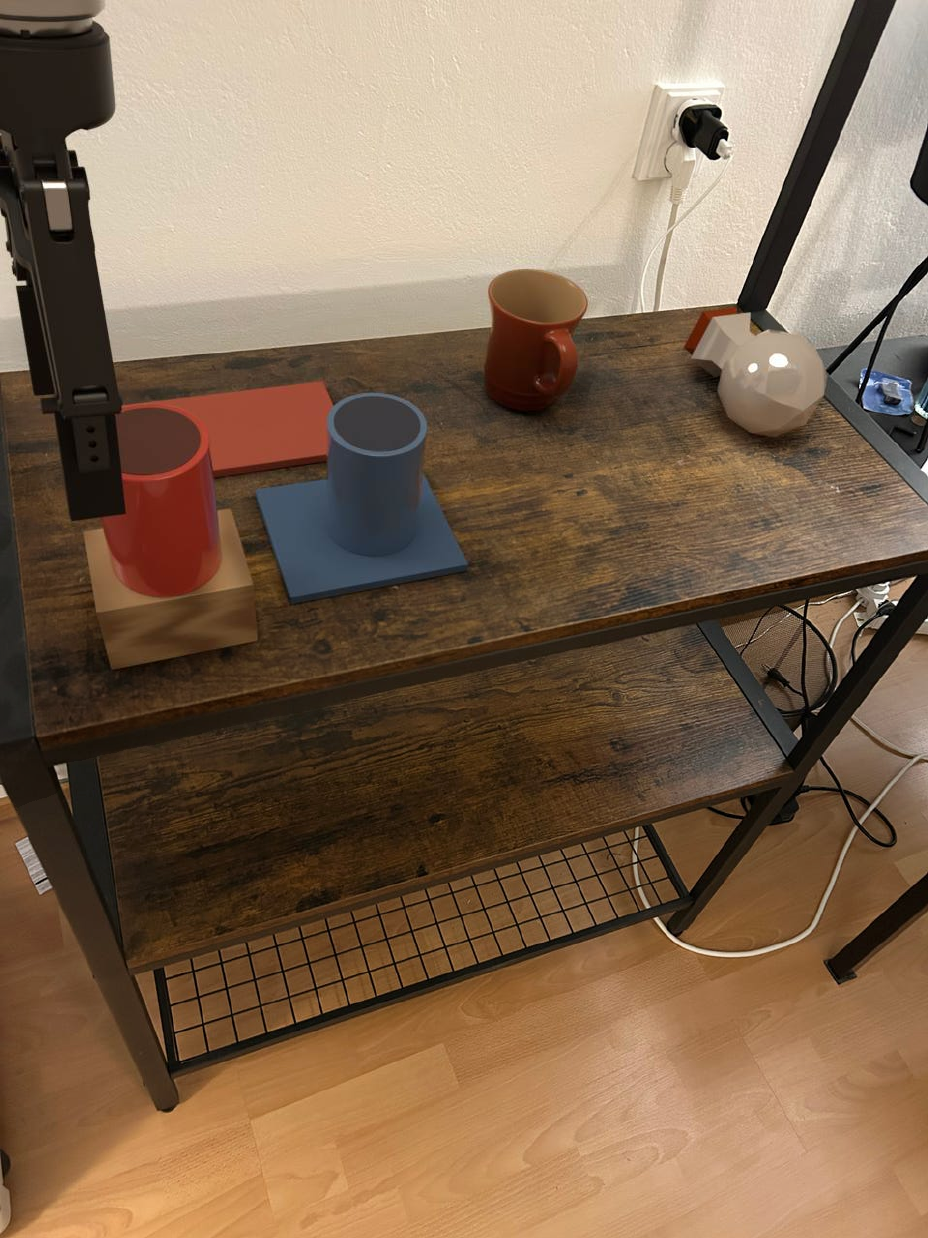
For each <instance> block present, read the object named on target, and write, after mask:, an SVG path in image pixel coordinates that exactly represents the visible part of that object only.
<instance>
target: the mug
mask: <svg viewBox="0 0 928 1238" xmlns="http://www.w3.org/2000/svg"><path fill="white" fill-rule="evenodd" d="M487 295H488V301H489V306H490V307H489V308H490V313H491V327H490V334H489V336H488V337H489V338H488V342H487V348H486V354H485V361H484V364H483V371H484V388H485V390H486V392H487V394H488V395H489V397H490V398H491V399H492V400H493V401H495V402H496V403H498V404H499V405H501V406H502V407H505V408H507V409H510V410H513V411H516V412H535V411H539V410H543V409H545V408H548V407H549V406H550V405H551V404H553V403H554V402H555V400H556V399H557V397H562V396H564V395H565V394H566V393H567V392H568V391H569V390H570V389H571V387H572V385H573V383H574V381H575V378H576V374H577V370H578V365H579V352H578V349H577V346H576V343H575V342H574V340H573V335H574V333H575V331H576V330H577V327H578V325H579V323H580V322H581V321H582V319H583V317H584V315H585V314H586V312H587V310H588V305H589V302H588V301H589V300H588V298H587V295H586V294H585V292H584V290H583V289H582V288H581V287H580V286H579V285H577V284H576V283H575V282H574V281H573V280H571V279H569V278H567V277H565V276H563V275H561V274H557V273H555V272H552V271H547V270H542V269H535V268H521V269H520V268H518V269H512V270H507V271H505V272H502V273H500V274H498V275H497V276H495V277H494V278H493V279H492V280H491V281H490V283H489V285H488V289H487Z"/></svg>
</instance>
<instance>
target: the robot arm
mask: <svg viewBox="0 0 928 1238" xmlns="http://www.w3.org/2000/svg"><path fill="white" fill-rule="evenodd" d="M106 6H107V5H106V0H0V215H1V217H3V218H4V223H5V224H4V225H5V231H6V241H5V243H4V244H5V248H6V252H8V253H9V255H10V258H11V259H12V261H11V264H12V265H11V271H12V272H11V273H12V275H13V276H14V277H15V278H16V282H25V284H24V285H23V284H21V285H15V290H16V296H17V301H18V302H17V303H18V309H19V314H20V320H21V321H20V322H21V326H22V327H21V328H22V333H23V338H24V345H25V352H26V357H27V363H28V364H27V365H28V370H29V375H30V381H31V387H32V388H31V389H32V392H33V395H34V397H39V396H49V395H50V396H49V397H40V398H39V407H40V411H41V414H42V415H51V414H53V419H54V425H55V431H56V437H57V438H56V439H57V445H58V452H59V457H60V463H61V471H62V477H63V485H64V489H65V497H66V503H67V509H68V514H69V519H70V521H71V522H78V521H84V520H91V519H93V520H94V519H100V517H108V516H115V515H122V514H126V510H125V500H124V491H123V482H122V473H121V463H120V454H119V445H118V435H117V426H116V417H115V414H120V413H121V411H122V405H124V404H123V398H122V395H121V394H120V393H119V389H118V381H117V377H116V371H115V365H114V360H113V353H112V346H111V340H110V334H109V328H108V323H107V317H106V310H105V305H104V299H103V292H102V289H101V288H102V287H101V281H100V275H99V269H98V263H97V257H96V244H95V239H94V234H93V229H92V224H91V223H92V222H91V215H90V207H89V206H90V205H89V204H90V200H91V190H90V185H89V179H88V175H87V170H86V168H85V166H79V159H78V156H77V152H76V150H75V149H68V146H67V140H66V139H67V138H68V137H69V136H70V135H71V134H73V133H75V132H77V131H79V130H84V131H91V130H95V129H97V128H99V127H102V126H104V125H106V124H107V123H108V122H109V121H111V119H112V118H113V117H114V115H115V113H116V106H117V105H116V95H115V82H114V71H113V61H112V59H113V58H112V49H111V39H110V38H111V37H110V35H109V34H108V33H107V32H106V30H105V29H104V27H103V26H102V25H101V24H100V23H99V22H97V21H95V20H93V18H96V17H97V16H98V15H100V14H101V13H102V12H103V11H104V10H105V7H106ZM51 395H52V396H51Z"/></svg>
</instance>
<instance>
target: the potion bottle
mask: <svg viewBox="0 0 928 1238" xmlns="http://www.w3.org/2000/svg"><path fill="white" fill-rule="evenodd" d="M751 331H752V312H743V313H738V312H737V307H736V306H735V307H727V308H720V309H719V308H718V309H710V310H709V309H708V310H702V312H701V314H700V316H699V317H698V319H697V321H696V324H695V325H694V327H693V329H692V331H691V333H690V335H689V336H688V338H687V340H686V342H685V344H684V346H683V350H686V352H688V353H689V354H691V357H690V360H692V361H693V362H695V363H696V364H697V365H698V366H700V367H701V368H702V369H703V370H705V371H706V372H707V373H708V374H710V375H711V376H712V377H713V378H717V377H719V376H720V379H719V382H718V386H717V393H718V397H719V398H720V401H721V403H722V406H723V409H724V411H725V413H726V416H727V418H729V419H730V420H731V421H732V422H734V423H735V424H736V425H738V426H739V427H741V428H742V429H743V430H745V431H746V432H748V433H751V434H754V435H760V436H765V437H772V438H776V437H779V436H781V435H784V434H786V433H788V432H791V431H793V430H796V429H798V428H800V427H802V426H805V425H806V424H807V423H808V422H809V420H810V418H812V415H813V414H814V413H815V412H816V410H817V408H818V407H819V405H820V403H821V401H822V400H823V398H824V395H825V390H826V386H827V382H828V377H829V376H828V374H827V370H826V367H825V365H824V363H823V360H822V358H821V356H820V354H819V353H818V351H817V349H815V347H814V346H813V345H811V343H810V342H808V340H807V339H805V338H804V337H803V336H802V334H796V333H790V332H786V331H781V330H775V329H770V328H768V329H766V330H764V331H762V332H760V333H758V334H756V335H755V334H754V333H753V332H751Z"/></svg>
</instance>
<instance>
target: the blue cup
mask: <svg viewBox="0 0 928 1238" xmlns="http://www.w3.org/2000/svg"><path fill="white" fill-rule="evenodd" d="M333 406H334V407H333V408H332V409H331V410H330V412H329V414H328V417H327V433H326V461H325V463H326V464H325V465H326V466H325V467H326V468H325V470H326V471H325V473H326V474H325V475H326V476H325V477H326V478H325V479H326V527H327V531H328V533H329V535H330V536H331V538H332V539H333V540H334V541H335V542H336V543H337V544H338V545H339V546H340V547H342V548H344V549H345V550H347V551H349V552H352V553H355V554H359V555H364V556H385V555H389V554H393V553H395V552H398V551H400V550H402V549H403V548H405V547H406V546H407V545H408V544H410V542H411V541H412V540H413V538H414V537H415V534H416V531H417V525H418V515H419V505H420V495H421V486H422V476H423V473H424V466H425V455H426V447H427V446H426V445H427V436H428V422H427V419H426V416H425V415H424V414H423V412H422V411H421V410H420V409H419V408H418V407H417V406H416V405H414V404H413V403H412V402H410V401H408V400H406V399H404V398H402V397H399V396H396V395H393V394H389V393H383V392H365V393H364V392H363V393H357V394H354V395H350V396H348V397H345V398H343V399H341V400H339V401H338V402H337V403H336V404H334V405H333Z"/></svg>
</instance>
